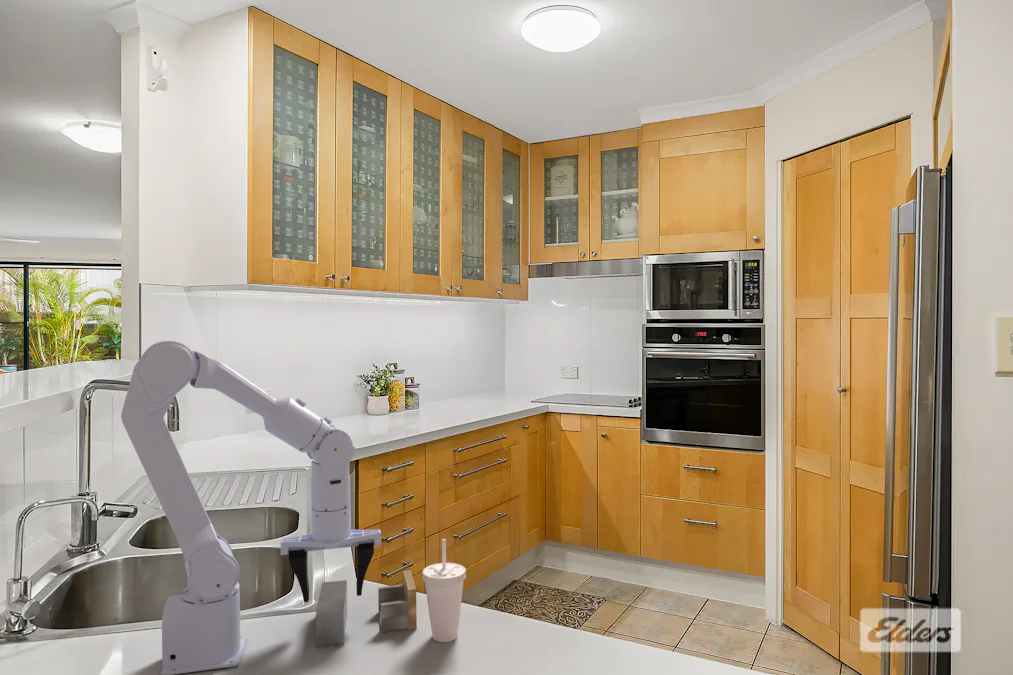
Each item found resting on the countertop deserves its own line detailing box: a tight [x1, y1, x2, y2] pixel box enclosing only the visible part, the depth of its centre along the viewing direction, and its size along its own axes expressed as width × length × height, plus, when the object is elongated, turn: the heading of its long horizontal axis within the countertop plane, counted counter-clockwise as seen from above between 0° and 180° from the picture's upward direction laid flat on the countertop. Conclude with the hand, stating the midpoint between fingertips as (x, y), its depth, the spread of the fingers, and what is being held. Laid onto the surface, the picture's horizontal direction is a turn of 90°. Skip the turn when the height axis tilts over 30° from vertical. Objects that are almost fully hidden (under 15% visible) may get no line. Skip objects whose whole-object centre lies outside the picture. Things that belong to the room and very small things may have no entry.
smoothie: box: [421, 538, 467, 643], centre depth 92 cm, size 6×6×14 cm
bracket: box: [377, 569, 418, 633], centre depth 98 cm, size 5×8×6 cm, turn 15°
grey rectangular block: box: [315, 579, 348, 649], centre depth 96 cm, size 12×4×5 cm, turn 12°
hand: (333, 596), depth 96 cm, fingers open, 7 cm apart
